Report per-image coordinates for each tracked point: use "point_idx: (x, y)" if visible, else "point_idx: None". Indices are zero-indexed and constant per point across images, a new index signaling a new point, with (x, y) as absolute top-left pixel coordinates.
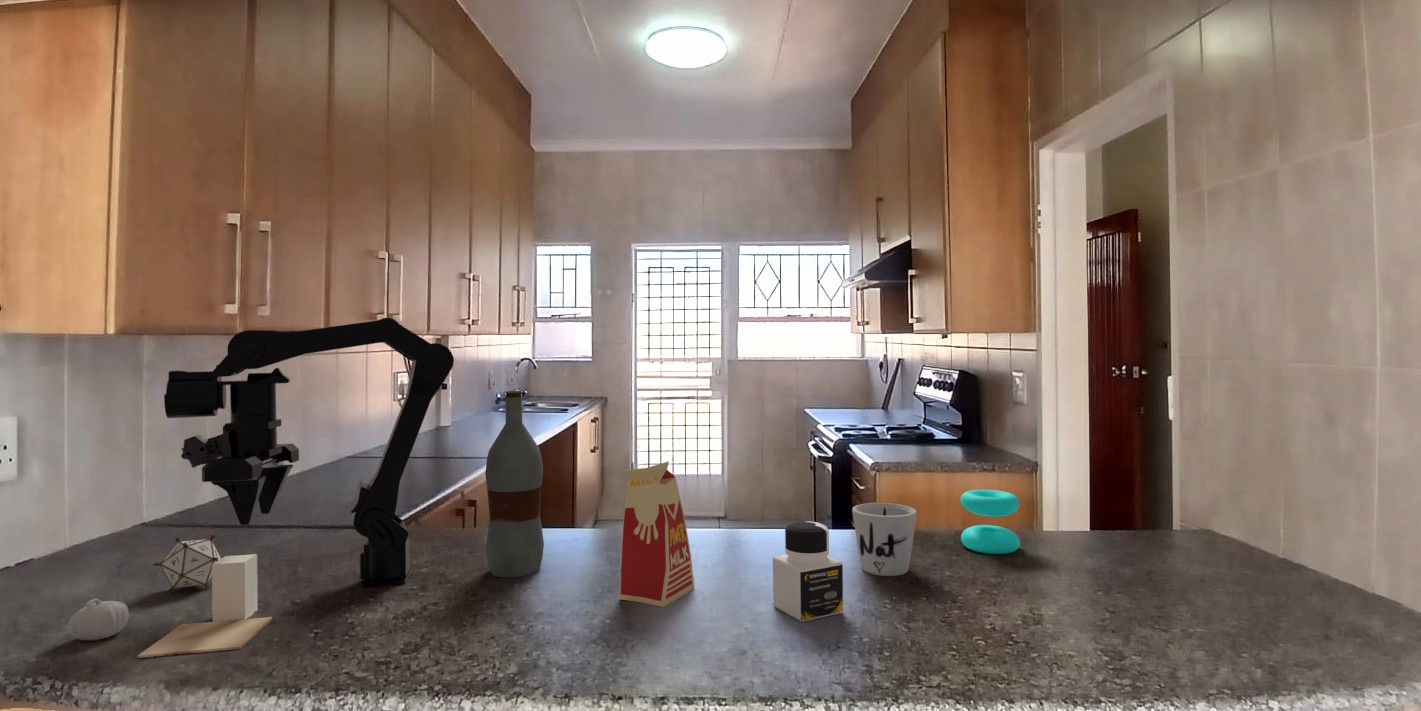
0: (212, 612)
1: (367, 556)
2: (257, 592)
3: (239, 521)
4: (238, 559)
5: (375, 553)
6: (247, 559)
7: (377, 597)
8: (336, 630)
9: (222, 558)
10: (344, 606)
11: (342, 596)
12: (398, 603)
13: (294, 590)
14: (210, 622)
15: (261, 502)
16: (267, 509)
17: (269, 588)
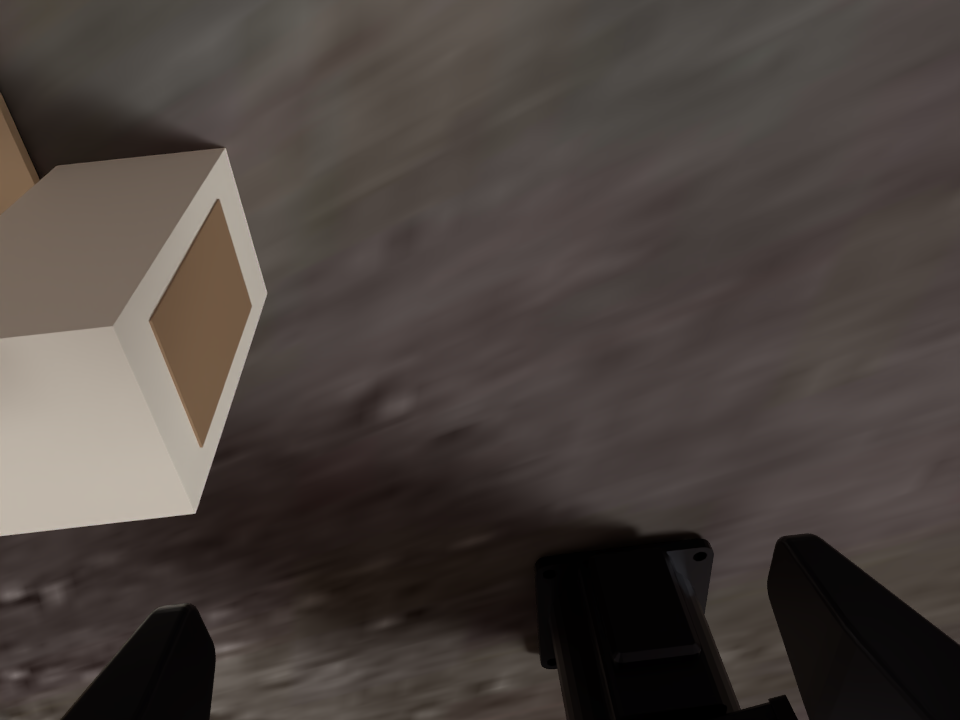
0: (33, 187)
1: (600, 671)
2: (249, 345)
3: (129, 642)
4: (28, 470)
5: (575, 717)
6: (43, 522)
7: (401, 632)
8: (64, 636)
9: (35, 341)
10: (307, 579)
11: (430, 535)
12: (331, 694)
13: (562, 326)
14: (22, 175)
15: (856, 671)
16: (784, 626)
17: (637, 179)
